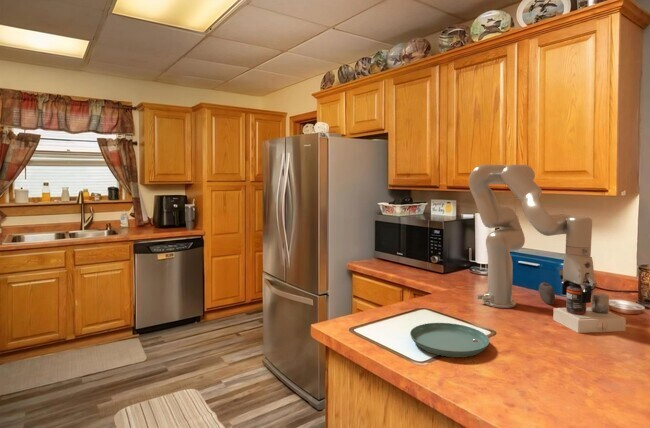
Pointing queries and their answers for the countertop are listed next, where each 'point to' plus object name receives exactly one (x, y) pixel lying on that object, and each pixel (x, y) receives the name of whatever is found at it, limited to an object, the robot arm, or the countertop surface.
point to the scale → (589, 321)
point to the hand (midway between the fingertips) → (575, 298)
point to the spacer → (600, 303)
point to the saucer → (449, 339)
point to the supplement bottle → (575, 299)
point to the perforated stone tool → (547, 293)
